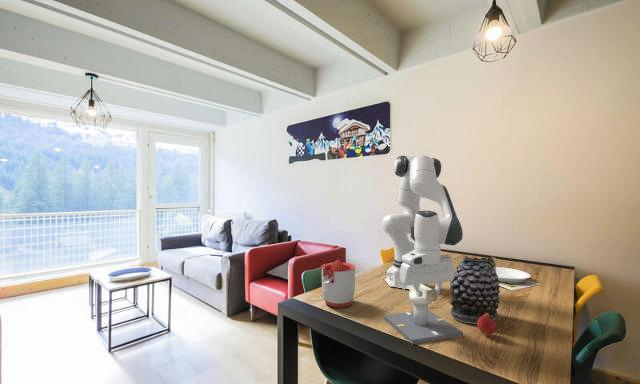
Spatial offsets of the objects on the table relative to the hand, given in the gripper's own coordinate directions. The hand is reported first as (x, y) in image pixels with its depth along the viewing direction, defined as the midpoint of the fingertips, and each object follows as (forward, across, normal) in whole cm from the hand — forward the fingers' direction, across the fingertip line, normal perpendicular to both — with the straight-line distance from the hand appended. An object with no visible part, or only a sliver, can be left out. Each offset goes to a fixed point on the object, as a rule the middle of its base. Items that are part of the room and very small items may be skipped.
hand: (427, 295), depth 103 cm
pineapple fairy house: (+14, -25, -6) cm, 29 cm away
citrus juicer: (+14, +23, -34) cm, 44 cm away
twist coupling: (+4, 0, -5) cm, 6 cm away
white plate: (+14, -81, -44) cm, 93 cm away
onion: (+14, -18, +8) cm, 24 cm away
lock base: (+13, 0, -4) cm, 14 cm away
